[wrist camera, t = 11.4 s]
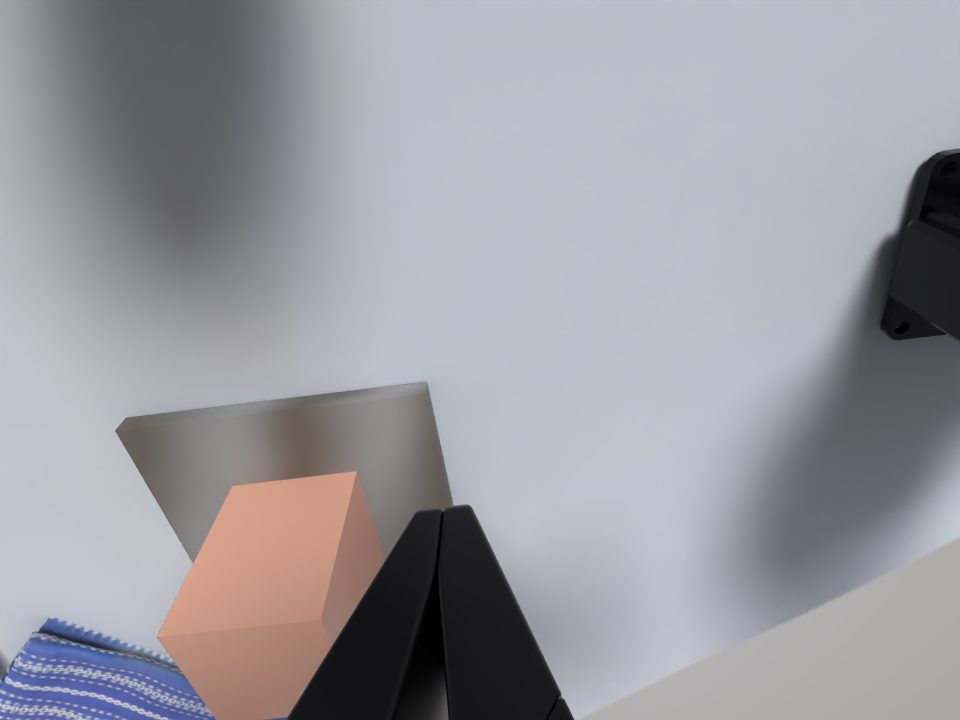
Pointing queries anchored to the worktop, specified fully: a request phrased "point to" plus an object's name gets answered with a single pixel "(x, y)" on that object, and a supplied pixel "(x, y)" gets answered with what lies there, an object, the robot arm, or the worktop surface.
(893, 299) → the robot arm
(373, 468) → the plate
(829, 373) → the worktop surface
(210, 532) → the salmon pink block
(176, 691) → the dish towel
